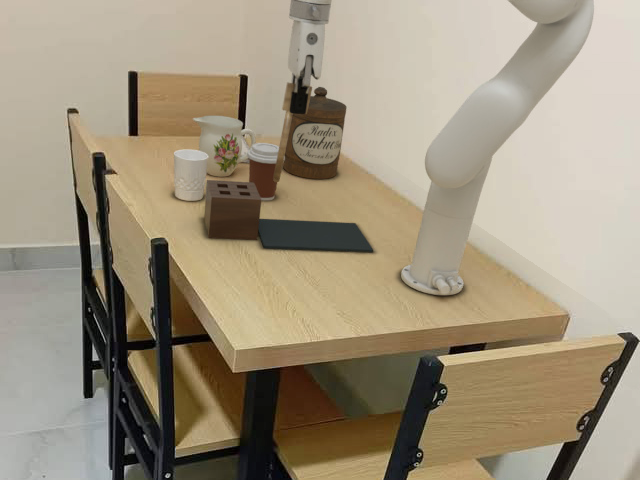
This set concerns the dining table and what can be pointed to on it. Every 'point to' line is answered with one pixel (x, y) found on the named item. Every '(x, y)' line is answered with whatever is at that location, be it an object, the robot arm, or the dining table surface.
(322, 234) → the mat
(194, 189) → the white cup
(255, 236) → the utensil block
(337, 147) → the wooden container
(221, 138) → the pitcher
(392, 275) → the dining table surface
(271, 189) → the coffee cup
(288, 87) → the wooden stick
